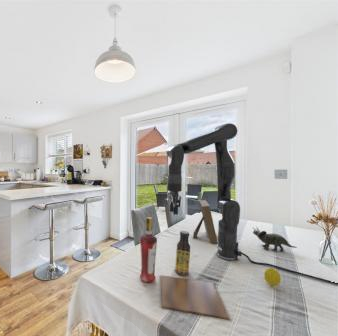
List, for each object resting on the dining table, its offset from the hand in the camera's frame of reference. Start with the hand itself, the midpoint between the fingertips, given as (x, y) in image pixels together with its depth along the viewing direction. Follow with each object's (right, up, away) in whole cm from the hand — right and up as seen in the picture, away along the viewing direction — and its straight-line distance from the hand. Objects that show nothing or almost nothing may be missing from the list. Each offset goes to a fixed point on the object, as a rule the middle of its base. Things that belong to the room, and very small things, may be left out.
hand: (173, 212), depth 107 cm
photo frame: (+32, -25, +34) cm, 53 cm away
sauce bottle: (0, -26, -13) cm, 29 cm away
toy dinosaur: (+67, -27, +15) cm, 73 cm away
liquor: (-18, -26, -19) cm, 37 cm away
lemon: (+36, -27, -22) cm, 50 cm away
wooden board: (-2, -26, -29) cm, 39 cm away
